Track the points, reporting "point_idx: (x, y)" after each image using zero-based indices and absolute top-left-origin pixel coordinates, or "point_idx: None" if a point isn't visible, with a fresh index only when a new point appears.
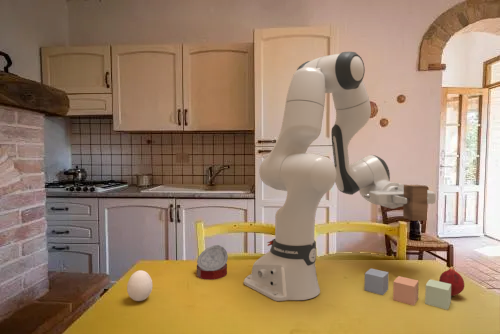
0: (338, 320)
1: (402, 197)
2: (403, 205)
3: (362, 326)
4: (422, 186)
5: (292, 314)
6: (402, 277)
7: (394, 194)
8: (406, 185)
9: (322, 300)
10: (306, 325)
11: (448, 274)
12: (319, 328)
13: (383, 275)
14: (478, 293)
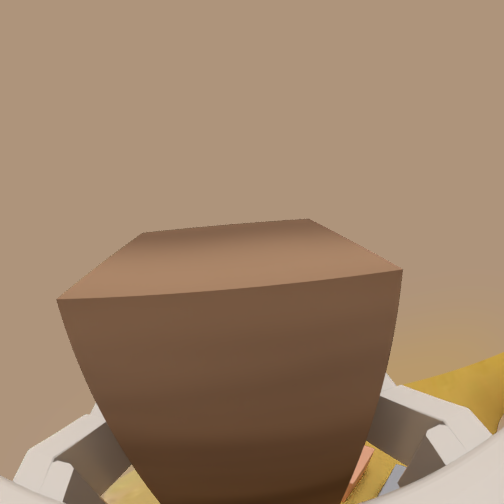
0: (449, 388)
1: (390, 378)
2: (343, 494)
3: (419, 385)
4: (199, 229)
5: (499, 380)
6: None
7: (488, 439)
8: (359, 245)
9: (485, 425)
10: (476, 369)
11: None
12: (462, 369)
13: (393, 477)
14: (137, 497)
